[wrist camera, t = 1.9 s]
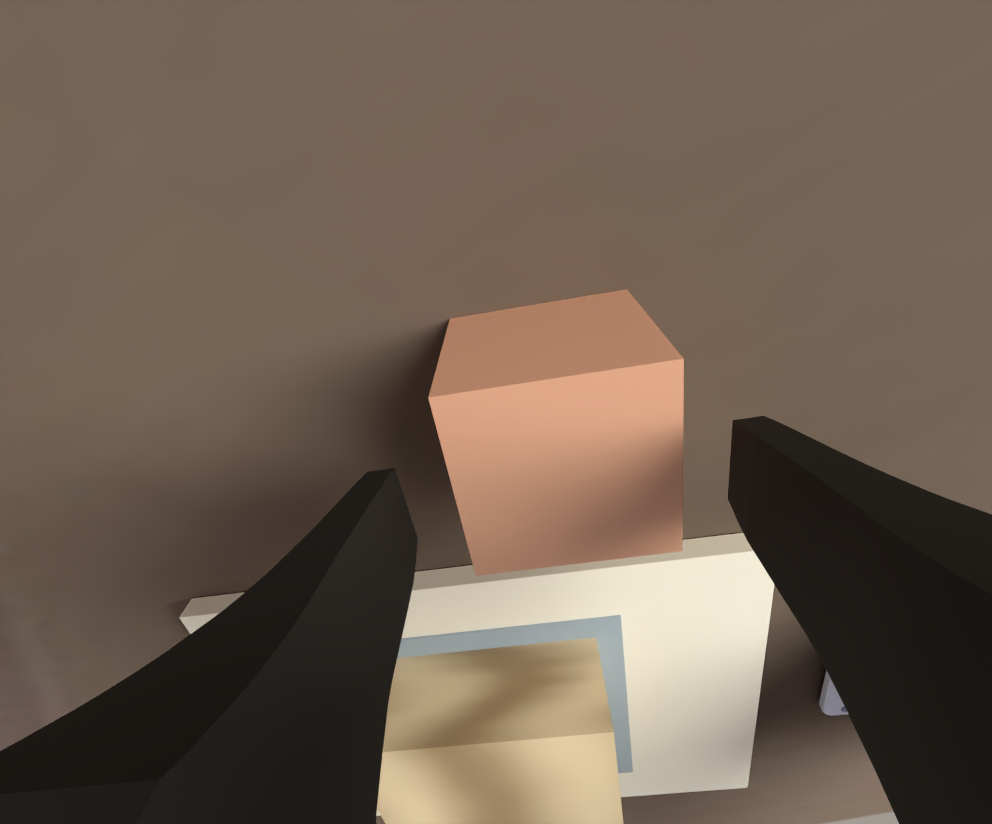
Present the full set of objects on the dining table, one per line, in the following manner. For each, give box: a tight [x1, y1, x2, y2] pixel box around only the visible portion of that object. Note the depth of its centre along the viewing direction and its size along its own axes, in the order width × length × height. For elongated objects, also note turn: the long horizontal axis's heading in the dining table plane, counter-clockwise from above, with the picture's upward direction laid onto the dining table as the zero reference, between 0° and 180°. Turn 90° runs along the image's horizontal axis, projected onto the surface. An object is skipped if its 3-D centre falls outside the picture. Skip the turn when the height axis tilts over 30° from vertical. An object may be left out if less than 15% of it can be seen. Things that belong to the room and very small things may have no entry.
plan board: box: [179, 533, 774, 816], centre depth 22 cm, size 22×16×1 cm
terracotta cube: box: [428, 289, 684, 576], centre depth 13 cm, size 5×5×5 cm
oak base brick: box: [377, 637, 623, 824], centre depth 20 cm, size 9×9×4 cm
